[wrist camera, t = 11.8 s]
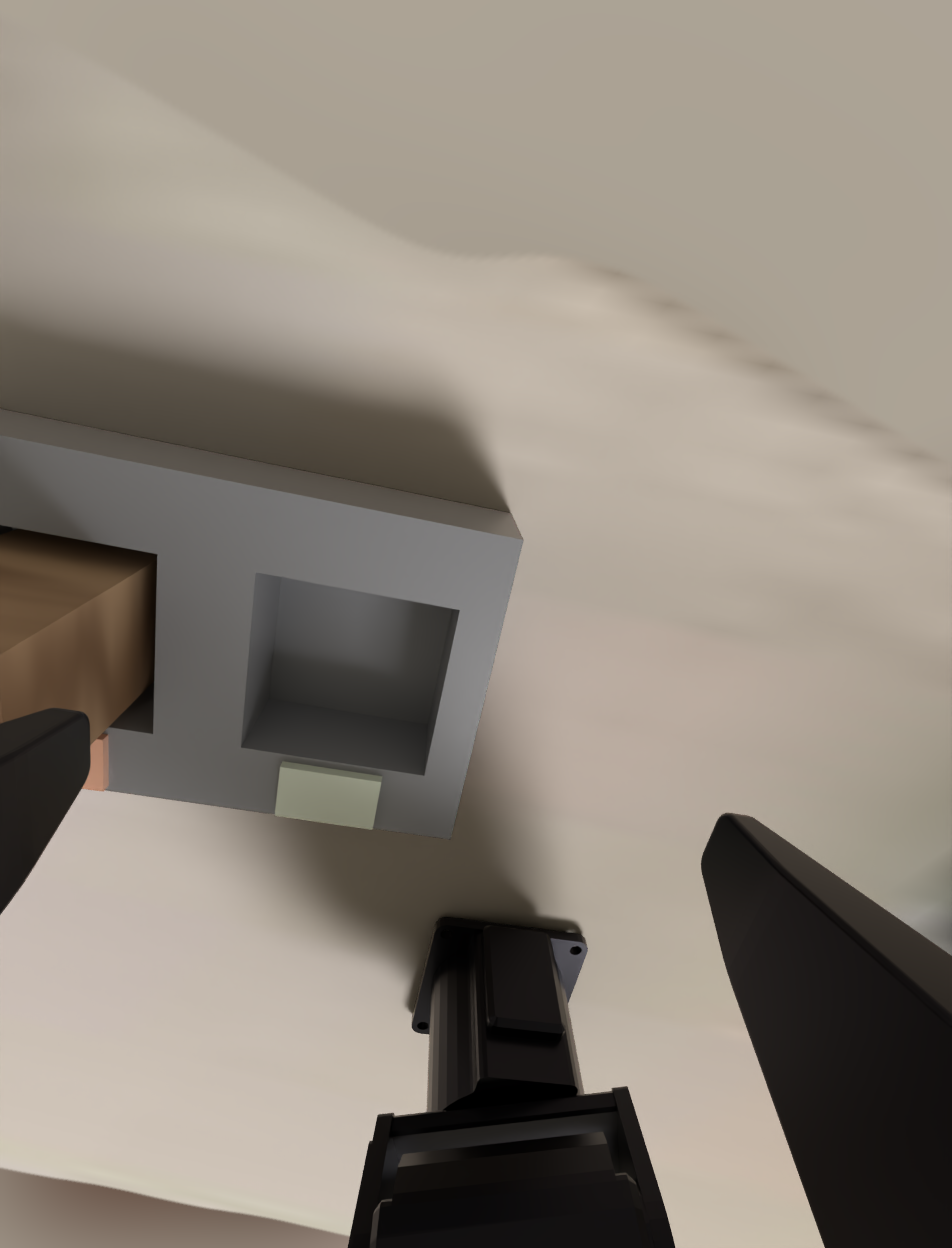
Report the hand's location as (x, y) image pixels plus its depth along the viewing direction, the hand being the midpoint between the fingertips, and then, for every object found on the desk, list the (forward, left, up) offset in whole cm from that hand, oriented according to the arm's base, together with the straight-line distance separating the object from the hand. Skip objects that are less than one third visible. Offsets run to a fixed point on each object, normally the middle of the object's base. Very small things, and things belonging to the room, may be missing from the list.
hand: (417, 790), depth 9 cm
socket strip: (-3, +6, -12) cm, 14 cm away
